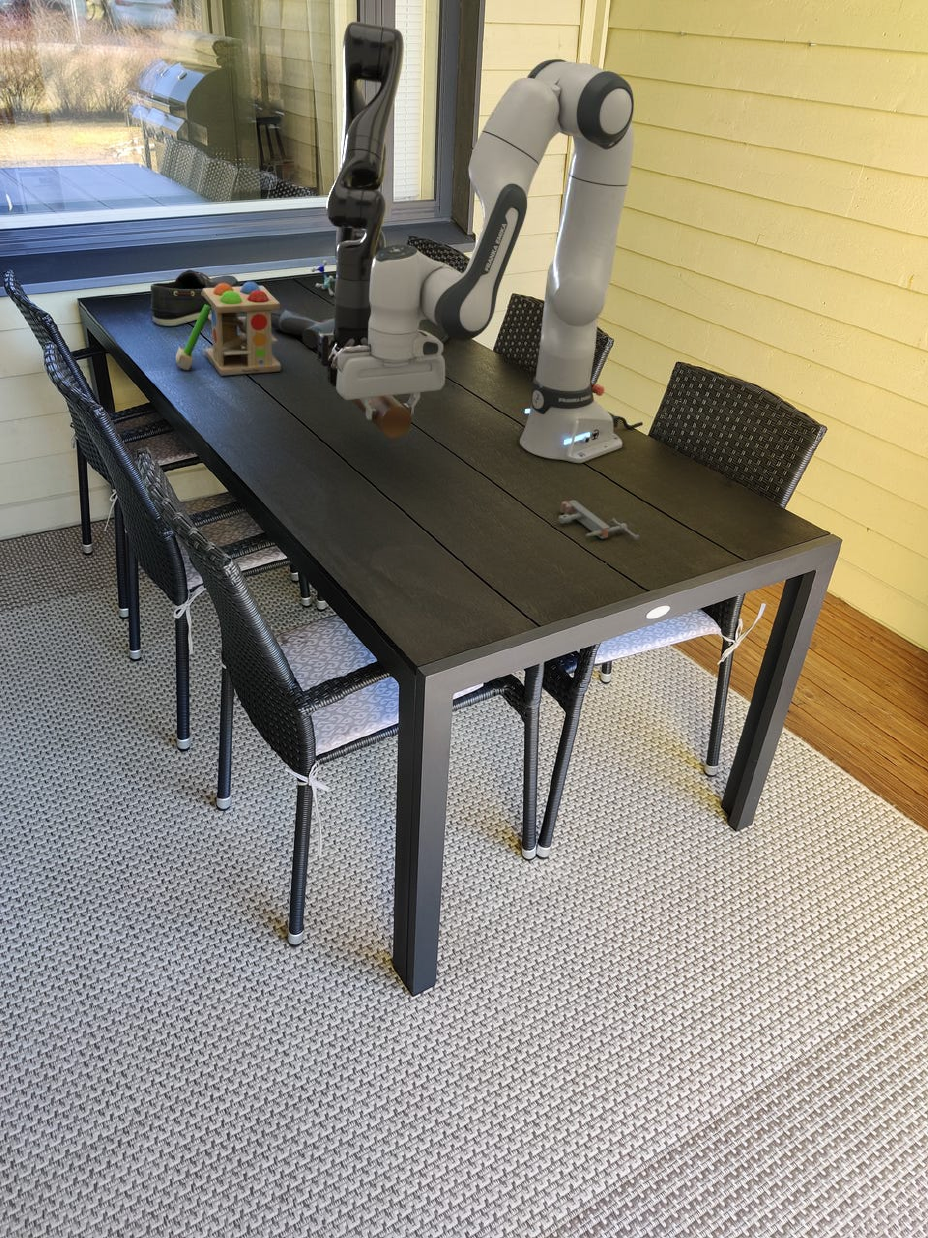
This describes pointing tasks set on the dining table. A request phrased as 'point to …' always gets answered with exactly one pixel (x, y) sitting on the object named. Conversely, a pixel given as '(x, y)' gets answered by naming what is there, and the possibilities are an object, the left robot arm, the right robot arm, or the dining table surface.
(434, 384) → the right robot arm
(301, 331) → the power drill
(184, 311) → the boat shoe
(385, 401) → the rod
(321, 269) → the molecular model
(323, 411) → the dining table surface
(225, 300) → the pounding bench toy
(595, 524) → the clamp
